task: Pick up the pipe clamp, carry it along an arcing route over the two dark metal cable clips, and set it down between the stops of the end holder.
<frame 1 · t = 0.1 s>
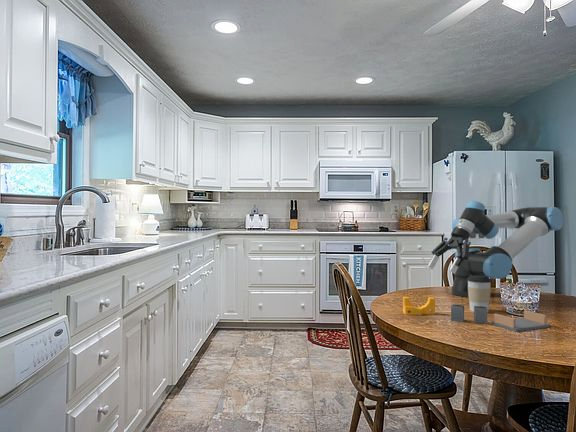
hand: (440, 269, 173), 15 cm above the table, tool tilted 35°, fingers open, 13 cm apart
pipe clamp: (419, 314, 156), on the table
end holder: (519, 325, 139), on the table
coffee cup: (478, 311, 161), on the table
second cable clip: (480, 322, 143), on the table
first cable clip: (457, 320, 146), on the table
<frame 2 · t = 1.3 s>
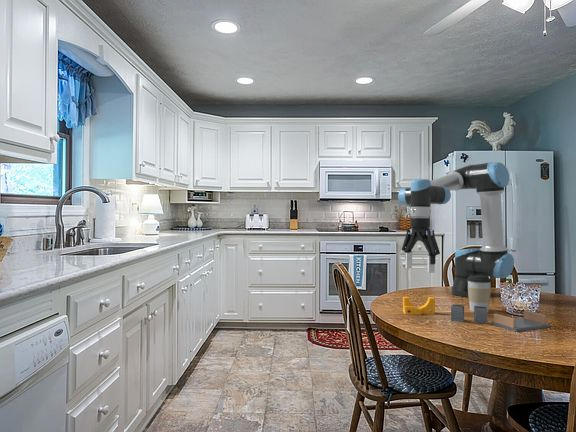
hand: (419, 270, 156), 17 cm above the table, tool pointing down, fingers open, 13 cm apart
nothing on the table moved.
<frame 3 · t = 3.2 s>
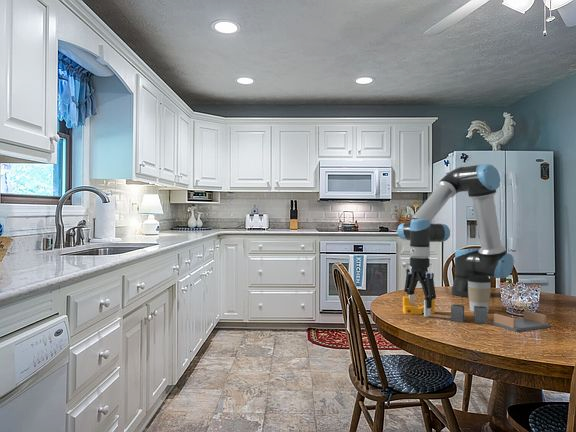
hand: (419, 313, 156), 0 cm above the table, tool pointing down, fingers open, 9 cm apart
pipe clamp: (418, 314, 157), on the table, touching gripper
everything else where it was.
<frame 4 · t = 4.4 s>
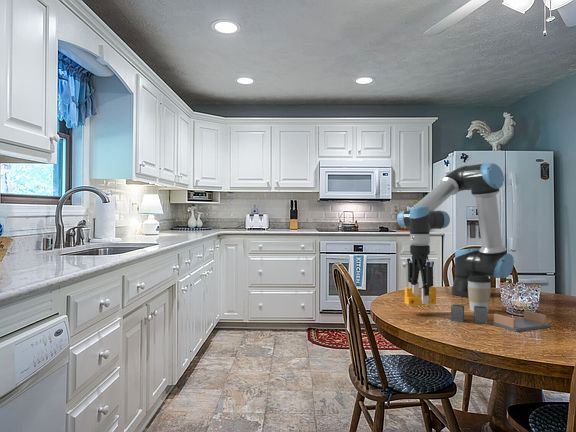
hand: (420, 301, 156), 5 cm above the table, tool pointing down, fingers closed on pipe clamp, 5 cm apart
pipe clamp: (421, 304, 156), point 4 cm above the table, touching gripper
everything else where it was.
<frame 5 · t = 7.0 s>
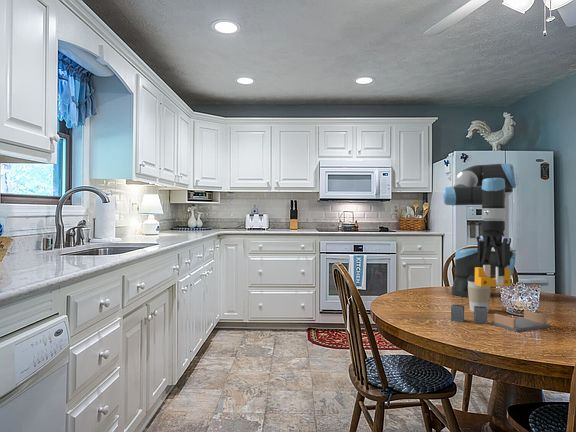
hand: (493, 283, 142), 15 cm above the table, tool pointing down, fingers closed on pipe clamp, 5 cm apart
pipe clamp: (493, 286, 142), point 14 cm above the table, touching gripper
everything else where it was.
when the fingers open (2 cm above the table, at t = 9.6 s): pipe clamp stays where it is, resting on end holder.
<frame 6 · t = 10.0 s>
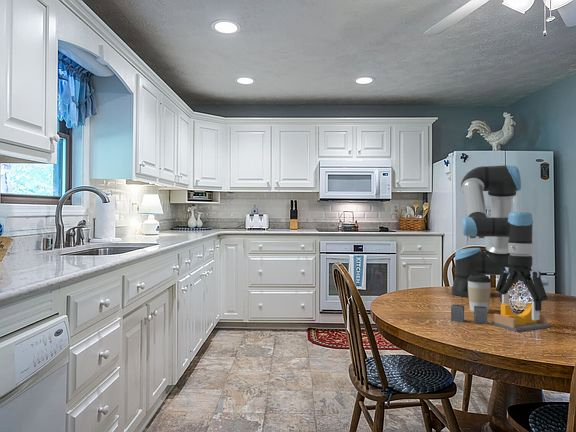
hand: (519, 315, 139), 4 cm above the table, tool pointing down, fingers open, 11 cm apart
pipe clamp: (520, 323, 139), point 1 cm above the table, touching end holder
everything else where it was.
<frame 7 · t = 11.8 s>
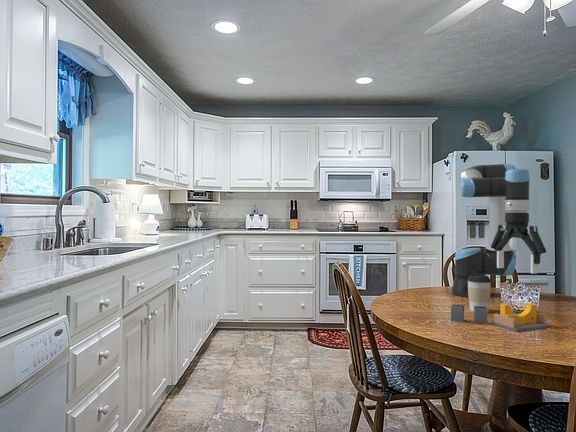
hand: (516, 270, 140), 20 cm above the table, tool pointing down, fingers open, 13 cm apart
nothing on the table moved.
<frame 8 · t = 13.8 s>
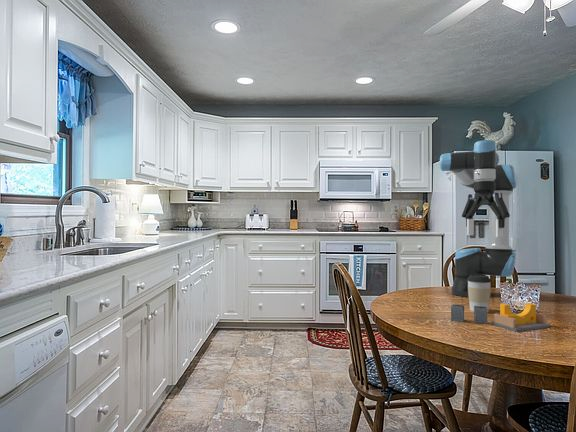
hand: (484, 236, 149), 32 cm above the table, tool pointing down, fingers open, 13 cm apart
nothing on the table moved.
at the end: pipe clamp inside the target area on the end holder (0.3 cm from its centre), point 0.8 cm above the end holder's base; the gripper is holding nothing; pipe clamp tilted 0° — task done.
